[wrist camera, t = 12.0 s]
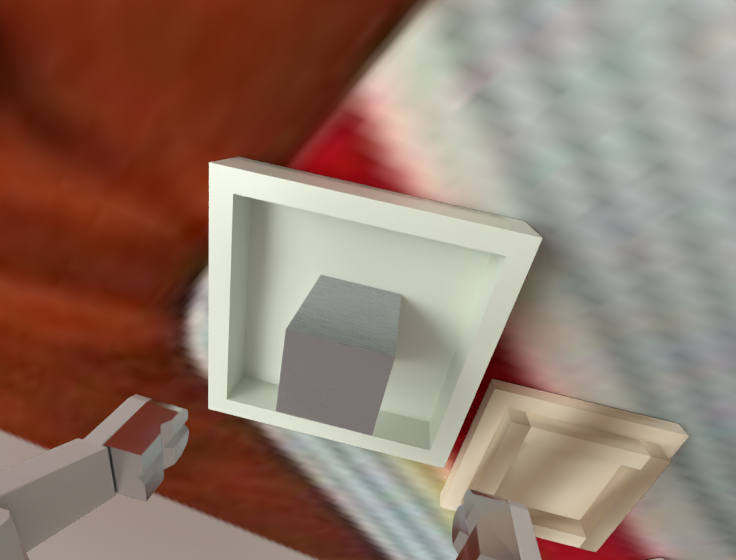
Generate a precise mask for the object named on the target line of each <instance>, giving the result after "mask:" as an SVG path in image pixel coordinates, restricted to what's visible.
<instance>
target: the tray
mask: <svg viewBox="0 0 736 560" xmlns="http://www.w3.org/2000/svg"><path fill="white" fill-rule="evenodd" d="M541 241H542V237H541V236H540V235H539V234H538V233H537V232H536V231H535V230H533V229H532V228H531V227H530V226H529V225H528V224H527V223H526V222H525V221H522V220H517V219H513V218H508V217H504V216H499V215H495V214H491V213H486V212H482V211H477V210H473V209H468V208H464V207H460V206H455V205H451V204H446V203H442V202H437V201H433V200H429V199H424V198H420V197H415V196H411V195H406V194H402V193H398V192H393V191H389V190H384V189H380V188H375V187H371V186H367V185H362V184H358V183H353V182H349V181H344V180H340V179H335V178H331V177H327V176H322V175H318V174H313V173H309V172H304V171H300V170H296V169H291V168H287V167H282V166H278V165H273V164H269V163H265V162H260V161H256V160H251V159H247V158H242V157H235V158H229V159H224V160H219V161H213V162H209V397H208V409H211V410H215V411H219V412H223V413H227V414H231V415H235V416H239V417H243V418H247V419H251V420H255V421H259V422H263V423H267V424H271V425H275V426H279V427H283V428H287V429H291V430H295V431H298V432H302V433H306V434H310V435H314V436H318V437H322V438H326V439H330V440H334V441H338V442H342V443H346V444H350V445H354V446H358V447H362V448H366V449H370V450H374V451H378V452H382V453H385V454H389V455H393V456H397V457H401V458H405V459H409V460H413V461H417V462H421V463H425V464H429V465H433V466H437V467H441V468H444V466H445V464H446V462H447V460H448V457H449V455H450V453H451V450H452V448H453V446H454V443H455V441H456V439H457V436H458V434H459V432H460V429H461V427H462V425H463V422H464V420H465V418H466V415H467V413H468V411H469V408H470V406H471V404H472V401H473V399H474V397H475V394H476V392H477V390H478V387H479V385H480V383H481V380H482V378H483V376H484V373H485V371H486V369H487V366H488V364H489V362H490V359H491V357H492V355H493V352H494V350H495V348H496V346H497V343H498V341H499V339H500V336H501V334H502V332H503V329H504V327H505V325H506V322H507V320H508V318H509V315H510V313H511V311H512V308H513V306H514V304H515V301H516V299H517V297H518V294H519V292H520V290H521V287H522V285H523V283H524V280H525V278H526V276H527V273H528V271H529V269H530V266H531V264H532V262H533V259H534V257H535V255H536V252H537V250H538V248H539V245H540V243H541ZM320 275H325V276H329V277H333V278H337V279H341V280H345V281H349V282H353V283H357V284H362V285H366V286H370V287H374V288H378V289H382V290H386V291H390V292H394V293H399V294H401V303H400V313H399V324H398V334H397V344H396V355H395V359H394V363H393V366H392V370H391V373H390V376H389V380H388V383H387V387H386V390H385V393H384V397H383V400H382V404H381V407H380V410H379V414H378V417H377V421H376V424H375V427H374V431H373V434H372V436H370V435H366V434H363V433H359V432H355V431H351V430H347V429H343V428H339V427H335V426H331V425H328V424H324V423H320V422H316V421H312V420H308V419H304V418H300V417H296V416H293V415H289V414H285V413H281V412H277V411H276V405H277V397H278V388H279V380H280V372H281V364H282V356H283V348H284V340H285V332H286V328H287V327H288V325H289V324H290V322H291V320H292V319H293V317H294V316H295V314H296V313H297V311H298V310H299V308H300V306H301V305H302V303H303V302H304V300H305V299H306V297H307V295H308V294H309V292H310V291H311V289H312V288H313V286H314V285H315V283H316V281H317V280H318V278H319V277H320Z"/></svg>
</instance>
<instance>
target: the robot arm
mask: <svg viewBox="0 0 736 560" xmlns="http://www.w3.org/2000/svg"><path fill="white" fill-rule="evenodd" d="M187 419H188V411H187V410H186V409H183V408H179V407H176V406H173V405H170V404H166V403H163V402H160V401H157V400H154V399H150V398H147V397H143V396H140V395H137V394H136V395H134V396H132V397H129V398H128V399H127V400H126V401H125V402H124V403H123V404H121V405H120V406H119V407H118V408H117V409H116V410H115V411H114V412H113V413H112V414H111V415H109V416H108V417H107V418H106V419H105V420H104V421H103V422H102V423H101V424H100V425H99V426H97V427H96V428H95V429H94V430H93V431H92V432H91V433H90V434H89V435H88V436H87V437H85V438H84V439H83V440H82V439H75V440H73V441H70V442H68V443H65V444H63V445H61V446H58V447H56V448H53V449H51V450H48V451H46V452H44V453H41V454H39V455H36V456H34V457H32V458H29V459H26V460H24V461H22V462H19V463H17V464H15V465H12V466H9V467H7V468H5V469H2V470H0V560H29V558H28V556H27V554H26V552H28V551H29V550H31V549H32V548H34V547H35V546H37V545H39V544H40V543H42V542H43V541H45V540H46V539H48V538H50V537H51V536H53V535H54V534H56V533H57V532H59V531H61V530H62V529H64V528H65V527H67V526H69V525H70V524H72V523H73V522H75V521H76V520H78V519H80V518H81V517H83V516H84V515H86V514H87V513H89V512H90V511H92V510H94V509H95V508H97V507H98V506H100V505H101V504H103V503H105V502H106V501H108V500H109V499H111V498H112V497H114V496H115V495H116V494H115V493H117V494H120V495H124V496H128V497H132V498H135V499H139V500H143V501H147V500H148V499H149V498H150V496H151V495H152V494H153V492H154V491H155V490H156V488H157V487H158V486H159V484H160V483H161V482H162V480H163V479H164V469H166V468H167V467H169V466H171V465H173V464H175V463H176V461H177V460H178V458H179V457H180V456H181V454H182V452H183V450H184V448H185V446H186V444H187V440H188V428H187V427H186V425H185V424H184V423H185V422H186V420H187ZM463 497H464V504H463V505H460V506H458V508H457V510H456V513H455V515H454V520H453V528H452V540H453V546H454V548H455V549H456V551H457V553H458V557H457V559H456V560H541V556H540V552H539V548H538V545H537V541H536V537H535V533H534V530H533V526H532V522H531V518H530V515H529V511H528V508H527V507H526V505H525V504H522V503H519V502H515V501H511V500H508V499H505V498H503V497H499V496H495V495H491V494H488V493H484V492H480V491H476V490H472V489H468V490H467V491H466V493H465V494H464V496H463Z"/></svg>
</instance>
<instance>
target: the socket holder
mask: <svg viewBox="0 0 736 560" xmlns="http://www.w3.org/2000/svg"><path fill="white" fill-rule="evenodd" d="M688 437H689V435H688V434H687V433H686V432H685V431H684V430H683V428H682V427H681V426H680V425H679V424H677V423H673V422H669V421H665V420H661V419H656V418H652V417H648V416H644V415H640V414H636V413H632V412H628V411H623V410H619V409H615V408H611V407H607V406H603V405H599V404H595V403H590V402H586V401H582V400H578V399H574V398H570V397H566V396H562V395H557V394H553V393H549V392H545V391H541V390H537V389H533V388H529V387H524V386H520V385H516V384H512V383H508V382H504V381H500V380H496V379H491V381H490V384H489V386H488V388H487V390H486V393H485V395H484V397H483V399H482V402H481V404H480V406H479V408H478V411H477V413H476V415H475V417H474V420H473V422H472V424H471V426H470V429H469V431H468V433H467V435H466V438H465V440H464V442H463V444H462V447H461V449H460V451H459V453H458V456H457V458H456V460H455V462H454V465H453V467H452V469H451V471H450V474H449V476H448V478H447V480H446V483H445V485H444V487H443V489H442V492H441V494H440V507H441V508H445V509H449V510H453V511H456V510H457V508H458V506H460V505H463V504H464V497H463V496H464V494H465V493H466V491H467V490H468V489H472V490H476V491H480V492H484V493H488V494H491V495H495V496H499V497H503V498H505V499H508V500H511V501H515V502H519V503H522V504H525V505H526V507H527V508H528V511H529V515H530V518H531V522H532V526H533V530H534V533H535V537H539V538H543V539H546V540H550V541H554V542H558V543H562V544H566V545H570V546H574V547H577V548H581V549H585V550H589V551H593V552H596V551H597V550H598V549H599V548H600V547H601V545H602V544H603V543H604V542H605V541H606V539H607V538H608V537H609V536H610V535H611V533H612V532H613V531H614V530H615V529H616V527H617V526H618V525H619V524H620V523H621V521H622V520H623V519H624V518H625V517H626V515H627V514H628V513H629V512H630V511H631V509H632V508H633V507H634V506H635V505H636V503H637V502H638V501H639V500H640V499H641V497H642V496H643V495H644V494H645V493H646V491H647V490H648V489H649V488H650V487H651V485H652V484H653V483H654V482H655V481H656V479H657V478H658V477H659V476H660V475H661V473H662V472H663V471H664V470H665V469H666V467H667V466H668V465H669V464H670V463H671V461H670V459H671V457H672V456H673V455H674V454H675V453H676V451H677V450H678V449H679V448H680V447H681V445H682V444H683V443H684V442H685V441H686V439H687V438H688Z"/></svg>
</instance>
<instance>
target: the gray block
mask: <svg viewBox="0 0 736 560" xmlns="http://www.w3.org/2000/svg"><path fill="white" fill-rule="evenodd" d="M400 303H401V294H399V293H394V292H390V291H386V290H382V289H378V288H374V287H370V286H366V285H362V284H357V283H353V282H349V281H345V280H341V279H337V278H333V277H329V276H325V275H320V277H319V278H318V280H317V281H316V283H315V285H314V286H313V288H312V289H311V291H310V292H309V294H308V295H307V297H306V299H305V300H304V302H303V303H302V305H301V306H300V308H299V310H298V311H297V313H296V314H295V316H294V317H293V319H292V320H291V322H290V324H289V325H288V327H287V328H286V332H285V340H284V348H283V356H282V364H281V372H280V380H279V388H278V397H277V405H276V411H277V412H281V413H285V414H289V415H293V416H296V417H300V418H304V419H308V420H312V421H316V422H320V423H324V424H328V425H331V426H335V427H339V428H343V429H347V430H351V431H355V432H359V433H363V434H366V435H370V436H372V434H373V431H374V427H375V424H376V421H377V417H378V414H379V410H380V407H381V404H382V400H383V397H384V393H385V390H386V387H387V383H388V380H389V376H390V373H391V370H392V366H393V363H394V359H395V355H396V344H397V334H398V324H399V313H400Z"/></svg>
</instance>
